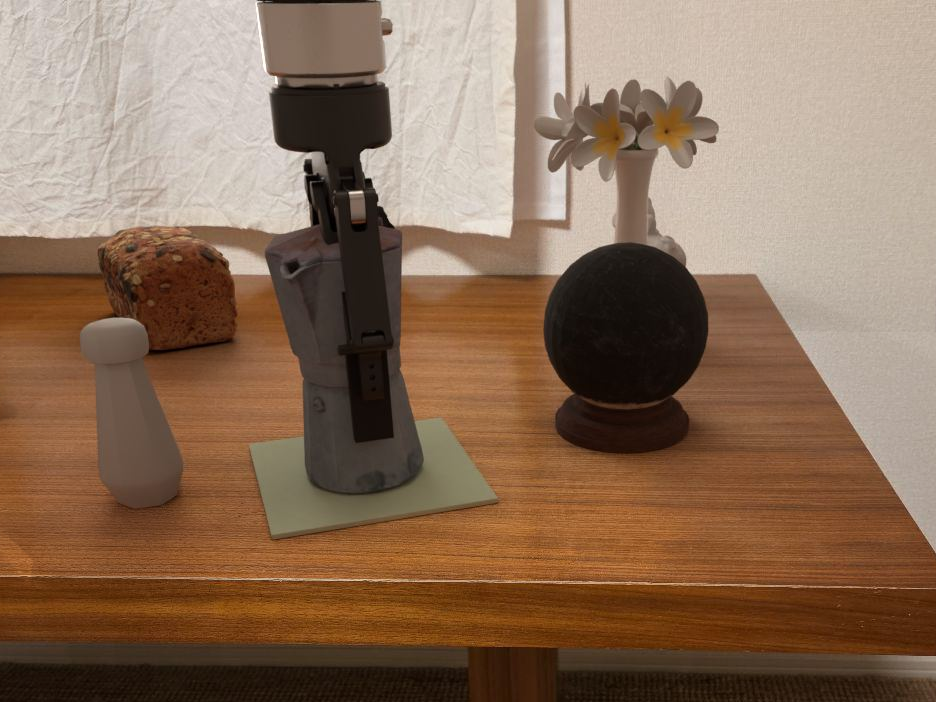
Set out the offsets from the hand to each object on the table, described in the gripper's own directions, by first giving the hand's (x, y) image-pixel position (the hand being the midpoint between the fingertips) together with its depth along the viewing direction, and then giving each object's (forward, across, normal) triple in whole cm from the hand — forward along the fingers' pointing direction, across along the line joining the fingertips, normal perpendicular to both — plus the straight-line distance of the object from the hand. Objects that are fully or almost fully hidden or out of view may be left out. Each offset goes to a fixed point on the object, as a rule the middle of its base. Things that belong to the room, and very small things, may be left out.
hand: (360, 413), depth 74 cm
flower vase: (+5, +21, -30) cm, 37 cm away
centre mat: (+5, 0, 0) cm, 5 cm away
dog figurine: (+5, +37, -40) cm, 55 cm away
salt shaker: (+5, +2, +16) cm, 17 cm away
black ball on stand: (+5, +2, -22) cm, 23 cm away
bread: (+5, +44, +13) cm, 46 cm away
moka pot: (+5, 0, 0) cm, 5 cm away
